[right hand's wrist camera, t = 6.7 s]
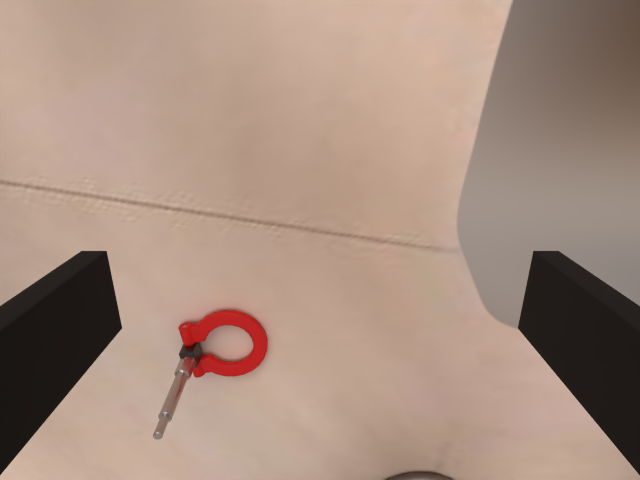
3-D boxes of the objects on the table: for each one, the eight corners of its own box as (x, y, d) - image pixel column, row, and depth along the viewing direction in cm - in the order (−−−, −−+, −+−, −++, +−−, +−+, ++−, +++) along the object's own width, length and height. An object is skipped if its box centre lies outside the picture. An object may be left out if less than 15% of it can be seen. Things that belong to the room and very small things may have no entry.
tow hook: (259, 302, 45) (177, 315, 45) (244, 381, 33) (132, 399, 33) (273, 364, 48) (196, 376, 48) (265, 457, 36) (162, 473, 36)
